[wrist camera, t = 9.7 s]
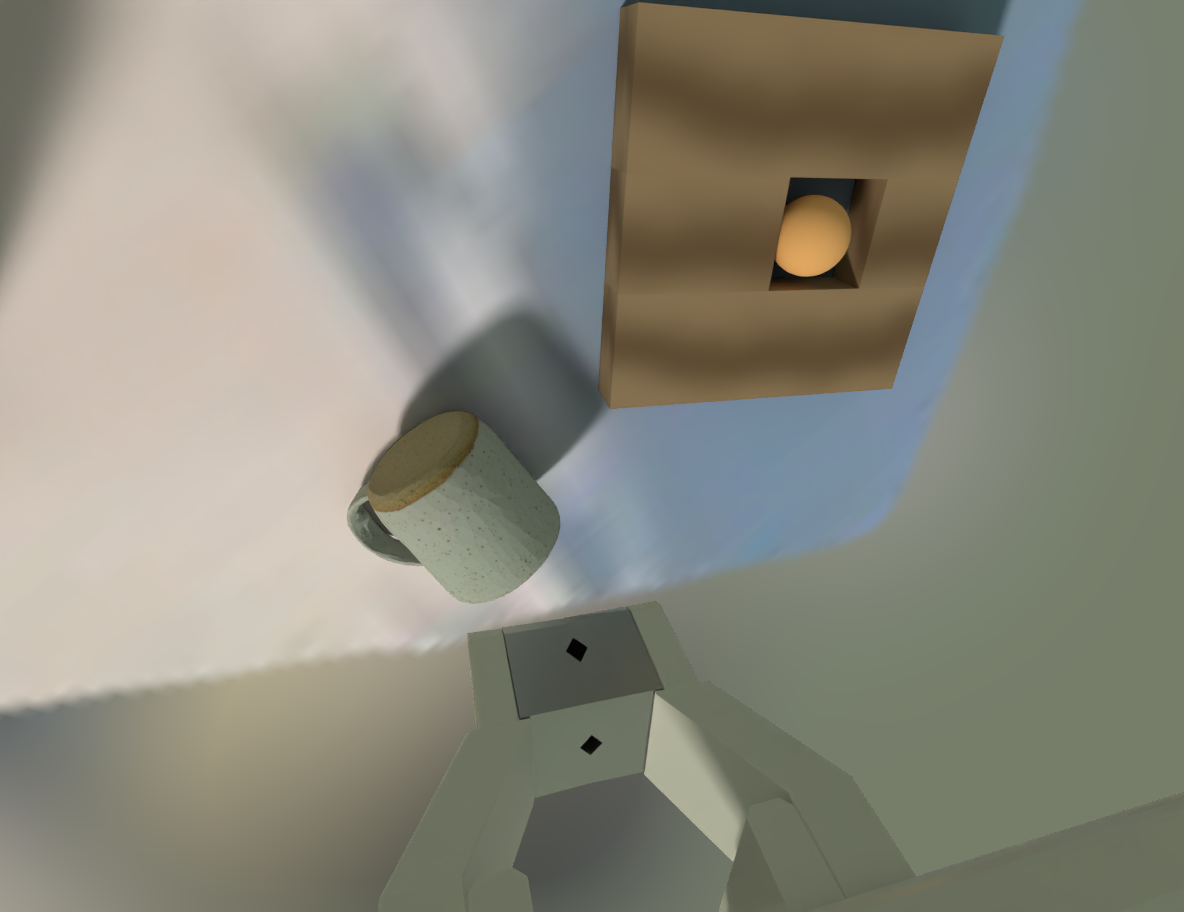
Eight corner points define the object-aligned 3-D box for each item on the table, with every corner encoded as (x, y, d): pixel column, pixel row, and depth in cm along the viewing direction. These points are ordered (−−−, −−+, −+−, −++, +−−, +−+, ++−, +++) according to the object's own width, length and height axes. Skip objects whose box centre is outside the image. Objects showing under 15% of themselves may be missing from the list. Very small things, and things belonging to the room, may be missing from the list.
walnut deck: (620, 7, 27) (638, 2, 25) (964, 38, 31) (1004, 35, 29) (598, 389, 36) (610, 408, 34) (866, 372, 40) (891, 388, 38)
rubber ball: (853, 193, 33) (776, 187, 33) (867, 203, 29) (779, 196, 30) (835, 271, 35) (761, 263, 35) (845, 288, 31) (763, 280, 32)
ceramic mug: (468, 379, 34) (480, 451, 27) (549, 477, 38) (576, 558, 32) (313, 485, 35) (290, 578, 28) (410, 568, 39) (409, 664, 33)
